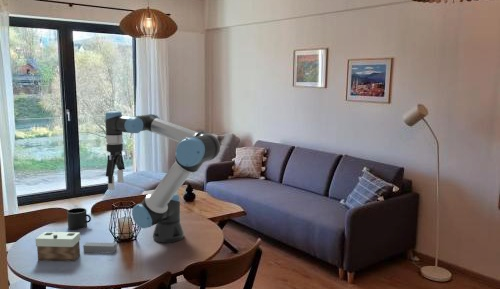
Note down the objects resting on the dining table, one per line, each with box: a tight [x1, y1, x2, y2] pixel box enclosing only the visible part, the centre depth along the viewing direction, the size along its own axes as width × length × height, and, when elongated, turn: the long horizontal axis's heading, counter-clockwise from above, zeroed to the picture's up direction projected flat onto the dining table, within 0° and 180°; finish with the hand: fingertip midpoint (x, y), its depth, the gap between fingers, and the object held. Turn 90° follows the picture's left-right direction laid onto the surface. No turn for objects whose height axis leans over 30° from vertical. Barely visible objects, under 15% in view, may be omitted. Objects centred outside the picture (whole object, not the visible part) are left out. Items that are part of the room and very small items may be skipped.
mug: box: [66, 207, 92, 231], centre depth 227 cm, size 9×12×9 cm
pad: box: [82, 241, 118, 254], centre depth 197 cm, size 14×4×3 cm, turn 89°
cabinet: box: [36, 234, 81, 262], centre depth 188 cm, size 16×6×10 cm, turn 89°
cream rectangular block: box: [34, 231, 81, 247], centre depth 187 cm, size 16×8×4 cm, turn 89°
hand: (116, 186), depth 209 cm, fingers open, 13 cm apart
